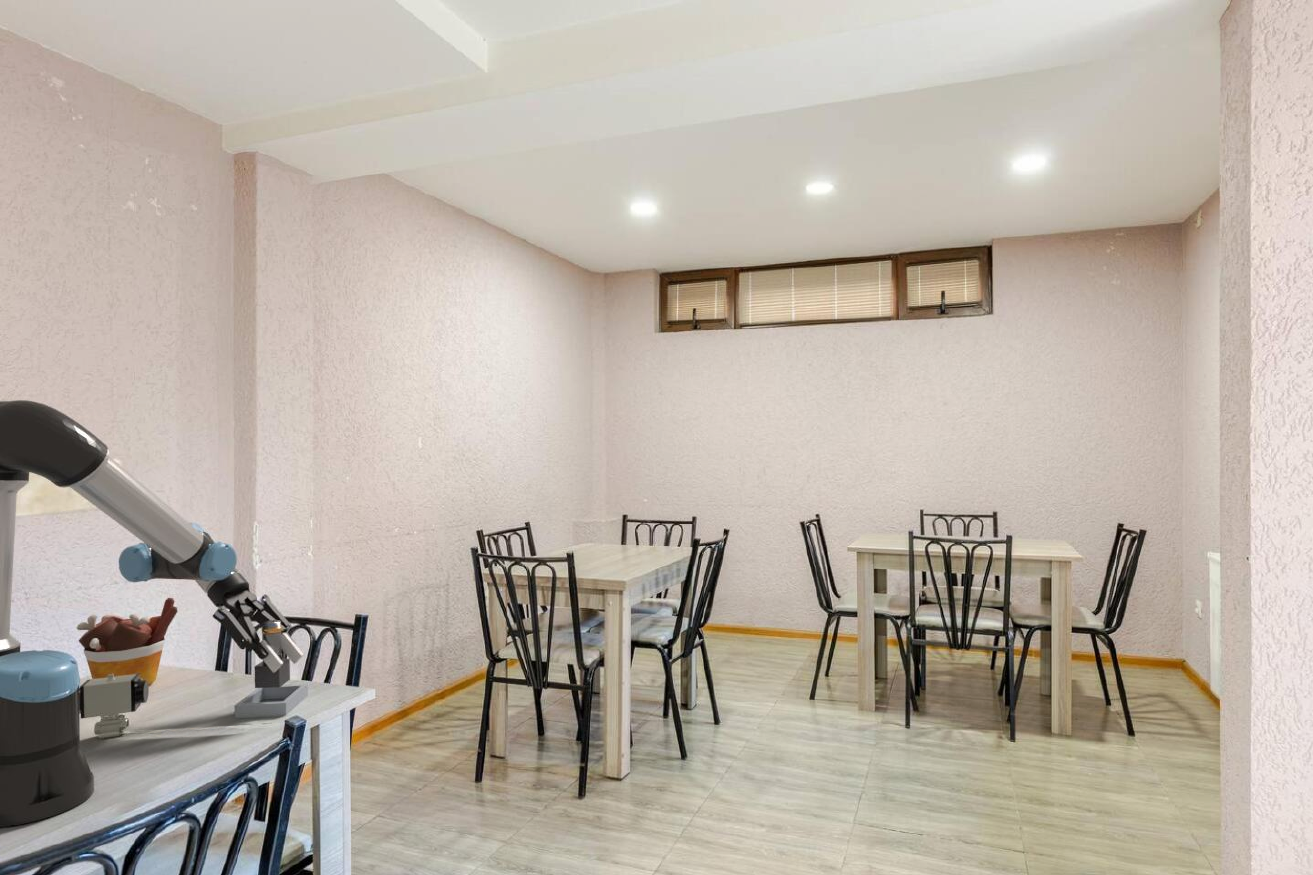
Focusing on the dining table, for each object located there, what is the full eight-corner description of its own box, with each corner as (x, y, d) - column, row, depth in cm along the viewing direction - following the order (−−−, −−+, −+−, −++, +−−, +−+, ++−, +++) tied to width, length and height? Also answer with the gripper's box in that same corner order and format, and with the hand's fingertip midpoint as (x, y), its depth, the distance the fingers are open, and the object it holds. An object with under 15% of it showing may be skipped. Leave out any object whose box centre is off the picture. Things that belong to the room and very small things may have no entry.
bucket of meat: (71, 704, 169) (70, 614, 169) (81, 684, 183) (80, 601, 183) (178, 687, 179) (176, 603, 179) (179, 670, 194) (178, 591, 194)
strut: (279, 687, 158) (278, 624, 158) (254, 688, 158) (253, 625, 158) (290, 679, 163) (288, 618, 163) (266, 680, 163) (264, 619, 163)
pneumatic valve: (144, 734, 150) (142, 673, 150) (71, 744, 146) (70, 681, 146) (150, 724, 156) (149, 665, 156) (81, 734, 151) (79, 673, 151)
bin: (286, 722, 155) (285, 702, 155) (235, 725, 154) (234, 705, 154) (308, 702, 167) (307, 684, 167) (260, 704, 166) (260, 686, 166)
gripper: (245, 586, 174) (308, 662, 170) (176, 604, 156) (244, 689, 152) (264, 563, 173) (328, 639, 168) (196, 579, 155) (266, 664, 151)
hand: (288, 663), depth 160 cm, fingers closed on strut, 5 cm apart
